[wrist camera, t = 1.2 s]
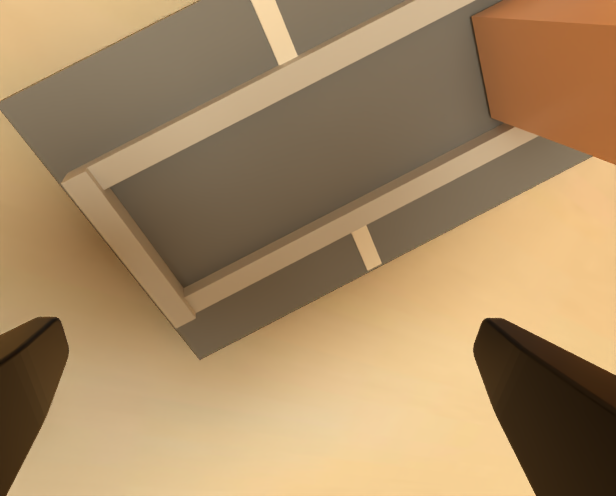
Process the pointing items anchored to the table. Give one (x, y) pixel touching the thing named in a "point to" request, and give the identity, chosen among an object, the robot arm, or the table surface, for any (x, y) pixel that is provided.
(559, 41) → the fader tab
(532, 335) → the robot arm
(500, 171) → the board
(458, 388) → the table surface
